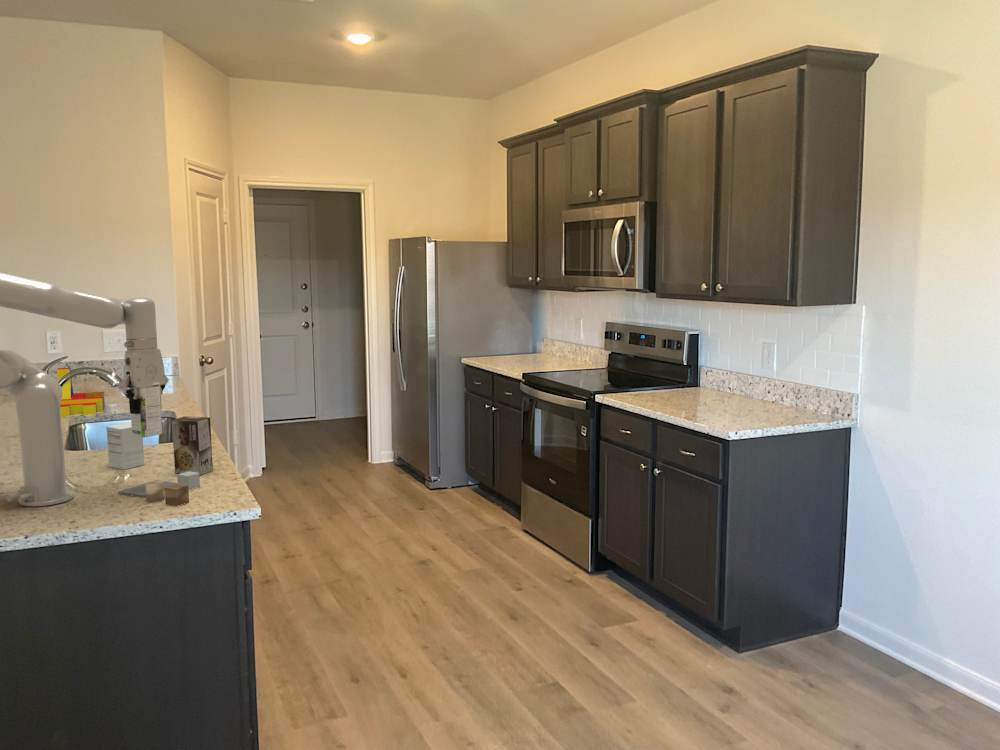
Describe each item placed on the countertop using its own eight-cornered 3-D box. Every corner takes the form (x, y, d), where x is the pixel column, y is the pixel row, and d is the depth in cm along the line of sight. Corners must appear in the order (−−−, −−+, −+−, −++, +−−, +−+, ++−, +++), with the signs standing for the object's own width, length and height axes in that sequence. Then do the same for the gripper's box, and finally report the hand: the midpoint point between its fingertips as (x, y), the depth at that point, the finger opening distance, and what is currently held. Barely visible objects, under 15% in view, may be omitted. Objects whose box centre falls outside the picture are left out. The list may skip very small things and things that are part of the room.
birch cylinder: (155, 503, 209) (154, 486, 208) (142, 501, 211) (141, 484, 210) (168, 498, 213) (167, 481, 212) (156, 496, 215) (155, 480, 214)
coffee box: (214, 470, 242) (211, 417, 240) (200, 475, 236) (197, 421, 234) (187, 468, 245) (185, 415, 243) (173, 473, 239) (170, 419, 236)
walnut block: (177, 506, 206) (176, 489, 206) (165, 504, 208) (164, 487, 207) (189, 502, 210) (188, 485, 209) (177, 500, 211) (176, 483, 211)
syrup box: (131, 435, 218) (127, 382, 217) (151, 431, 223) (147, 379, 221) (143, 438, 215) (140, 384, 213) (163, 434, 220) (160, 381, 218)
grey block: (189, 490, 221) (188, 476, 220) (178, 488, 223) (177, 474, 222) (200, 486, 225) (199, 472, 224) (189, 485, 226) (188, 471, 226)
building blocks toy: (50, 419, 323) (46, 374, 320) (55, 409, 346) (52, 367, 343) (102, 416, 331) (99, 371, 328) (104, 406, 353) (102, 364, 351)
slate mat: (143, 497, 214) (142, 495, 214) (118, 493, 217) (118, 491, 217) (180, 485, 225) (180, 483, 225) (156, 482, 229) (156, 479, 229)
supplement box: (130, 462, 252) (127, 422, 251) (145, 465, 249) (142, 424, 247) (108, 467, 246) (105, 426, 244) (123, 470, 242) (120, 428, 241)
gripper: (125, 348, 207) (129, 417, 209) (177, 342, 222) (181, 407, 225) (104, 347, 210) (108, 415, 212) (157, 341, 225) (160, 405, 228)
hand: (145, 410), depth 218 cm, fingers closed on syrup box, 6 cm apart
